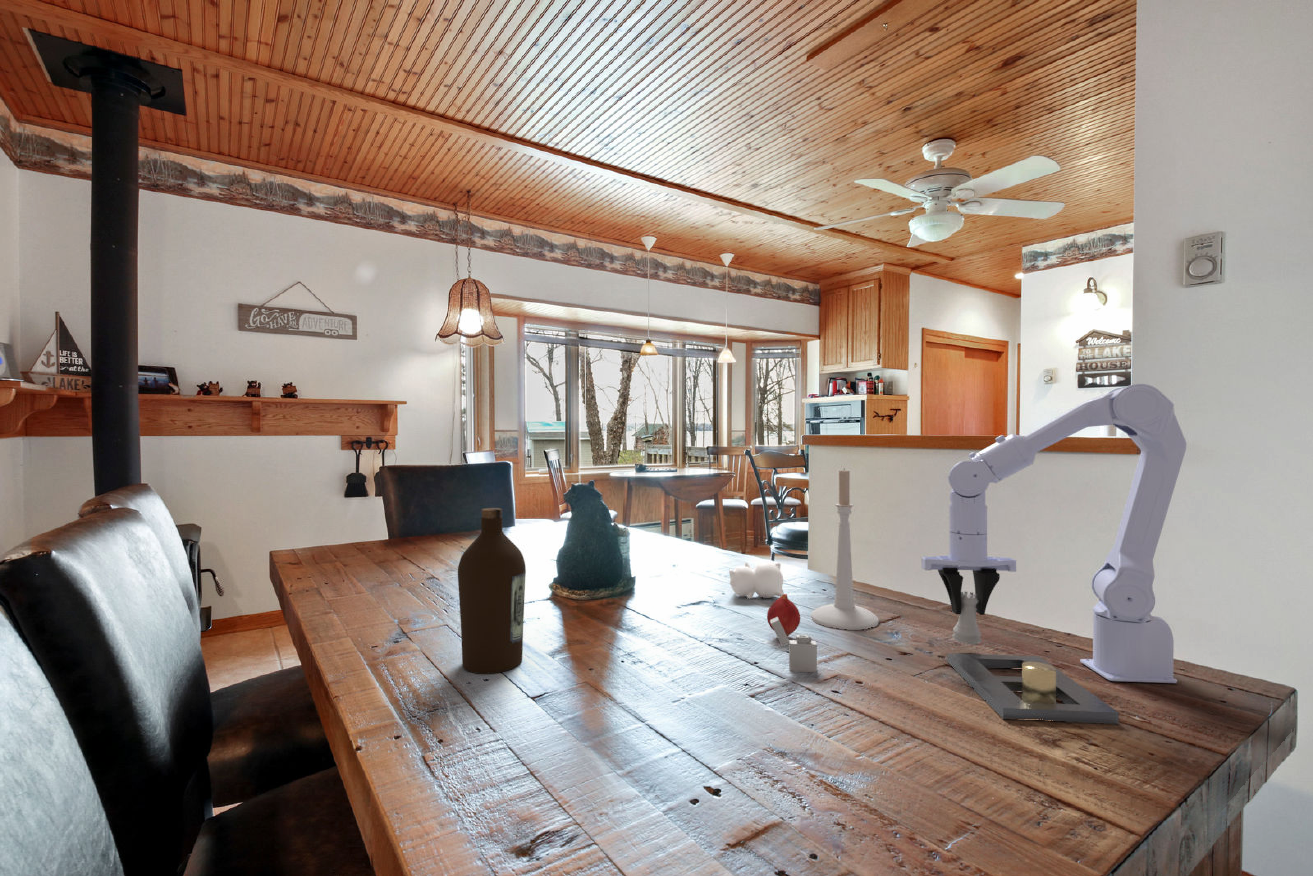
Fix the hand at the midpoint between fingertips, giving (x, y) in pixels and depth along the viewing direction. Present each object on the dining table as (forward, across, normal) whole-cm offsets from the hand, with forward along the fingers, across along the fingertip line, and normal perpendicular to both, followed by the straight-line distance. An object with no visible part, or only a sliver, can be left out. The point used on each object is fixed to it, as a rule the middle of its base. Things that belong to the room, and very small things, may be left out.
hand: (968, 613), depth 105 cm
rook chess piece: (+5, 0, 0) cm, 5 cm away
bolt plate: (+7, -2, +15) cm, 17 cm away
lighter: (+7, +30, +10) cm, 32 cm away
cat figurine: (+7, +34, -33) cm, 48 cm away
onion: (+7, +30, -5) cm, 31 cm away
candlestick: (+7, +17, -17) cm, 25 cm away
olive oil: (+7, +78, +12) cm, 79 cm away
